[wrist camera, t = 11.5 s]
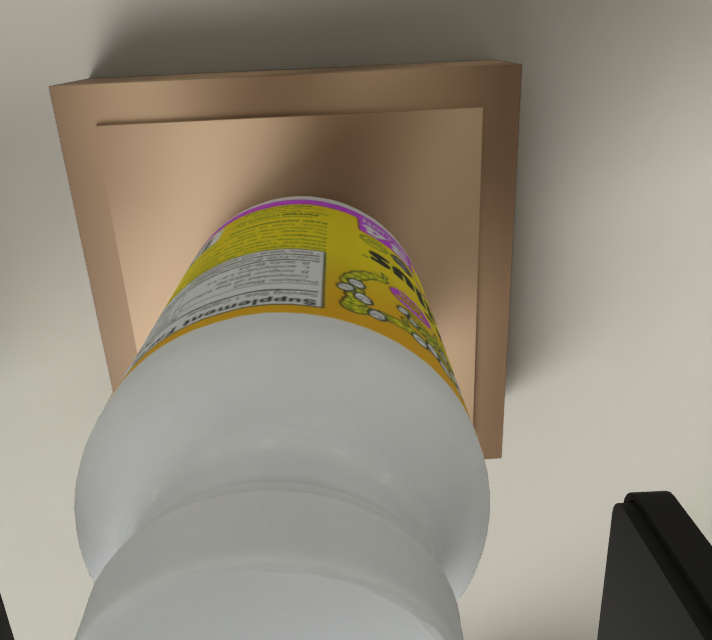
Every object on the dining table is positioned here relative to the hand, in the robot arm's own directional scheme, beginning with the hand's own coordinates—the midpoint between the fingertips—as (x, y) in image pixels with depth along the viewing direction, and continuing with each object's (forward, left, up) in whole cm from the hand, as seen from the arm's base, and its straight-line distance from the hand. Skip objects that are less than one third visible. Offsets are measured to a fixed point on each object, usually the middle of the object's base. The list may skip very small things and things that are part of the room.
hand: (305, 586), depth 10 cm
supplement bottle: (0, 0, -11) cm, 11 cm away
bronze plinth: (0, -1, -14) cm, 14 cm away
